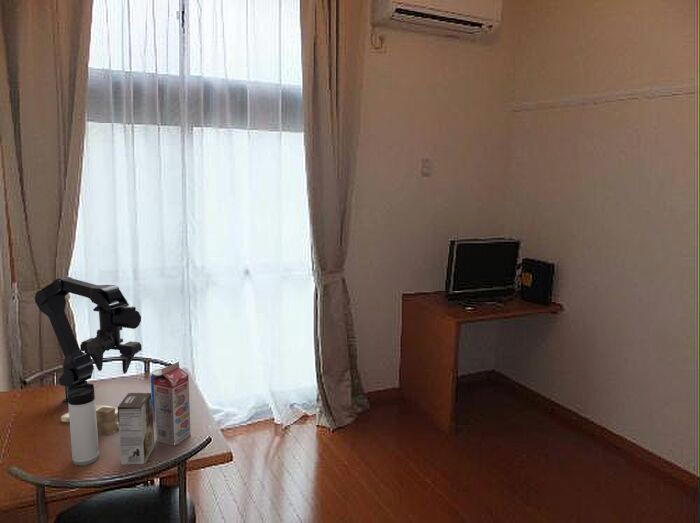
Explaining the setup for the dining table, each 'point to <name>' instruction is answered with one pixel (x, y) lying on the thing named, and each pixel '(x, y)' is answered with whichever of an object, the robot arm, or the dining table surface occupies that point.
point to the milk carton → (172, 405)
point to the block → (106, 420)
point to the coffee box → (136, 428)
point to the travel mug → (83, 424)
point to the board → (66, 416)
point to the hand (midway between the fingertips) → (112, 372)
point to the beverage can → (154, 374)
